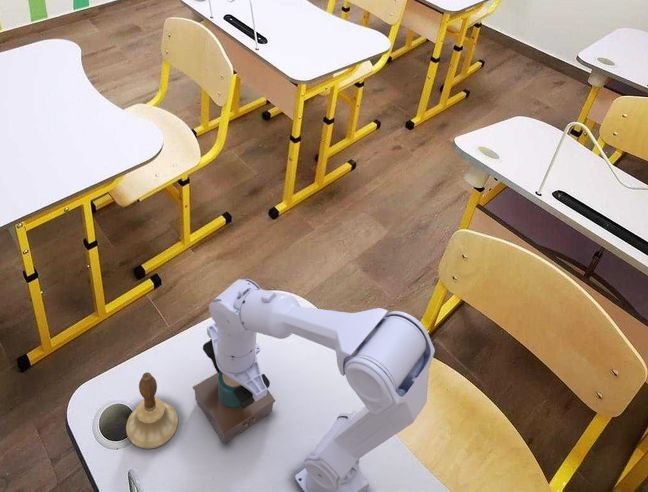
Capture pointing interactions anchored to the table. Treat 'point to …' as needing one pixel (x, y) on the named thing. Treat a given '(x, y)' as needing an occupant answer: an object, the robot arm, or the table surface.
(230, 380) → the cup
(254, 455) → the table surface
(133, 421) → the hand bell
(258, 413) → the brown wooden box
